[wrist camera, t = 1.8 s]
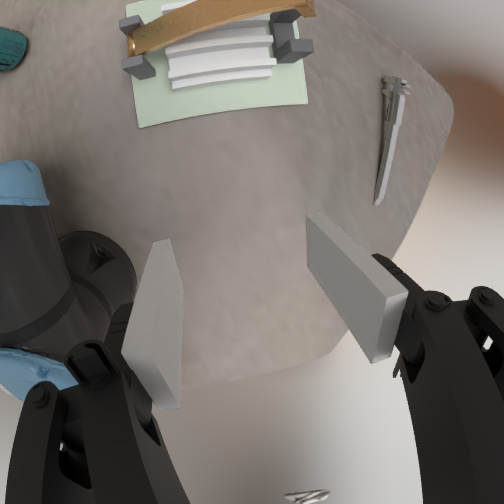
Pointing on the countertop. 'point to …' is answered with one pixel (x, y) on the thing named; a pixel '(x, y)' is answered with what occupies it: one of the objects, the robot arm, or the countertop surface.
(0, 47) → the beverage bottle
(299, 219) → the countertop surface
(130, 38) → the bar
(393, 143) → the caliper
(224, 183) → the countertop surface
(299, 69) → the processor board
